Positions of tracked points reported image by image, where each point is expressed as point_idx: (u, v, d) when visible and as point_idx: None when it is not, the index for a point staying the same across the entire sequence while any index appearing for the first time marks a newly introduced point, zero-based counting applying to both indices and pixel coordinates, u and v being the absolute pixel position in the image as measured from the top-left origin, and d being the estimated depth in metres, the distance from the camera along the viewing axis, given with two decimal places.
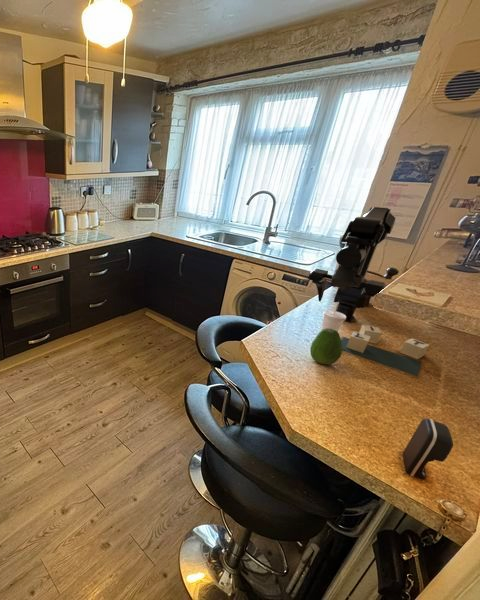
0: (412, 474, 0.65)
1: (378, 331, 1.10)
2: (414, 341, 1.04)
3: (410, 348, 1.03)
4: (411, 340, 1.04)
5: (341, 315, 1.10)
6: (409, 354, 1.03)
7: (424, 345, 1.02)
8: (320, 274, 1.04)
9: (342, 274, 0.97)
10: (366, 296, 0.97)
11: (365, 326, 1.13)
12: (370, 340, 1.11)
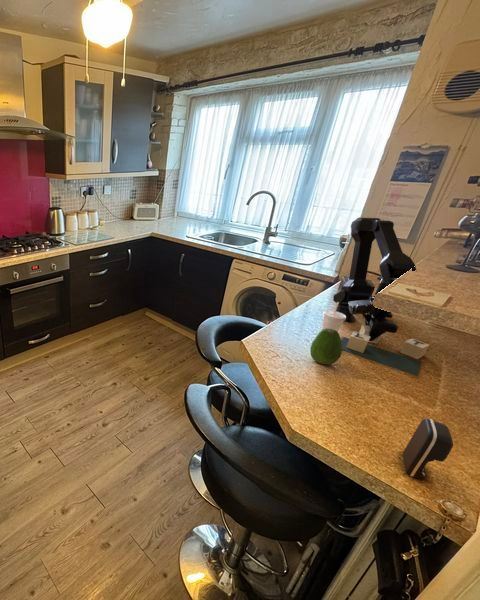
0: (412, 474, 0.65)
1: None
2: (414, 341, 1.04)
3: (410, 348, 1.03)
4: (411, 340, 1.04)
5: (341, 315, 1.10)
6: (409, 354, 1.03)
7: (424, 345, 1.02)
8: None
9: (359, 302, 1.11)
10: None
11: (365, 326, 1.13)
12: None
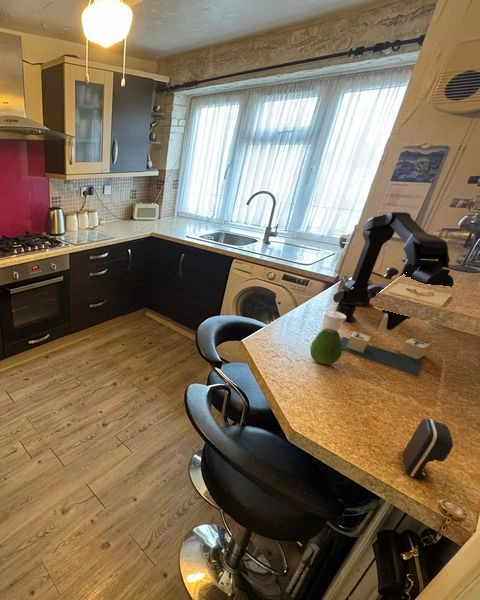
0: (412, 474, 0.65)
1: None
2: (414, 341, 1.04)
3: (410, 348, 1.03)
4: (411, 340, 1.04)
5: (341, 315, 1.10)
6: (409, 354, 1.03)
7: (424, 345, 1.02)
8: None
9: (381, 285, 1.00)
10: None
11: None
12: None
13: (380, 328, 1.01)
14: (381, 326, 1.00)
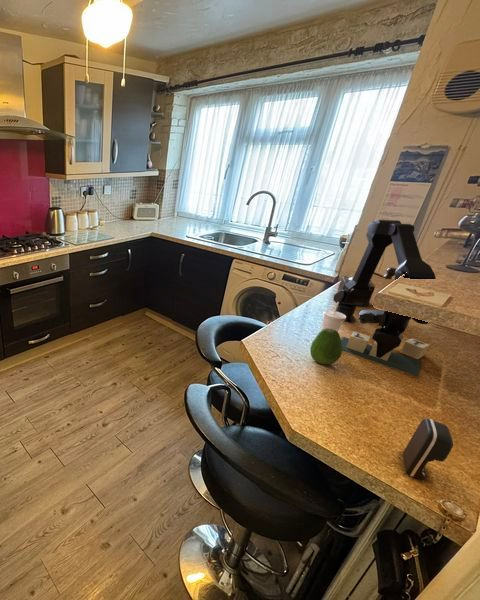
0: (412, 474, 0.65)
1: None
2: (414, 341, 1.04)
3: (410, 348, 1.03)
4: (411, 340, 1.04)
5: (341, 315, 1.10)
6: (409, 354, 1.03)
7: (424, 345, 1.02)
8: None
9: (372, 311, 1.02)
10: None
11: None
12: None
13: (371, 354, 1.04)
14: (371, 352, 1.03)
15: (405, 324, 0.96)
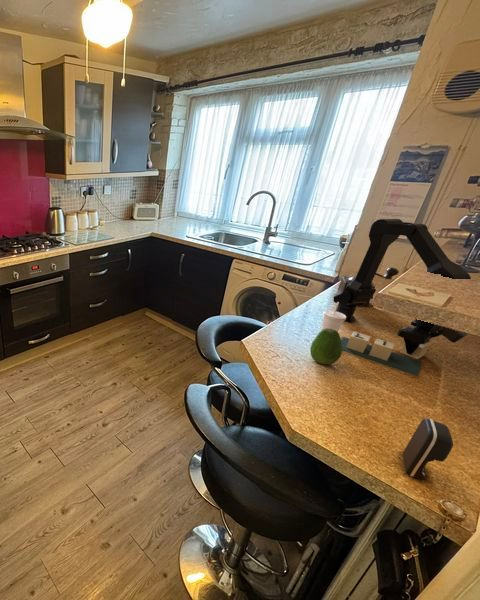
0: (412, 474, 0.65)
1: (390, 346, 1.00)
2: None
3: None
4: None
5: (341, 315, 1.10)
6: (409, 354, 1.03)
7: (424, 345, 1.02)
8: (427, 334, 0.96)
9: None
10: None
11: (378, 340, 1.04)
12: (379, 355, 1.02)
13: (371, 354, 1.04)
14: (371, 352, 1.03)
15: None
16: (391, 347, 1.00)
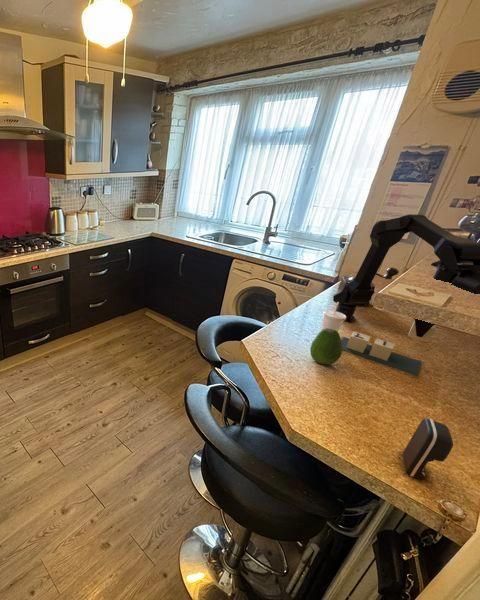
0: (412, 474, 0.65)
1: (390, 346, 1.00)
2: None
3: None
4: None
5: (341, 315, 1.10)
6: None
7: (433, 325, 0.94)
8: None
9: None
10: None
11: (378, 340, 1.04)
12: (379, 355, 1.02)
13: (371, 354, 1.04)
14: (371, 352, 1.03)
15: None
16: (391, 347, 1.00)
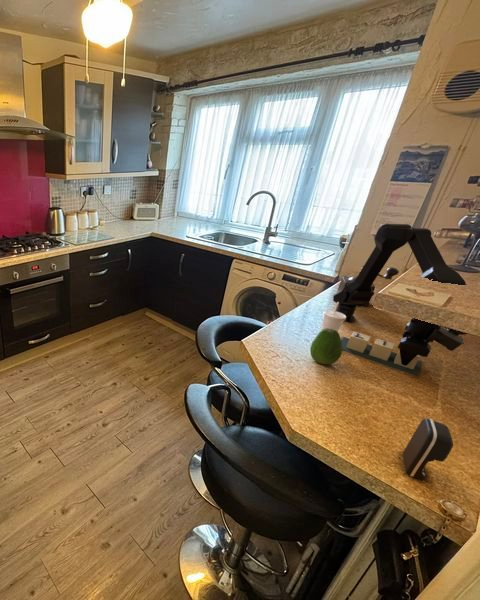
0: (412, 474, 0.65)
1: (390, 346, 1.00)
2: None
3: None
4: None
5: (341, 315, 1.10)
6: None
7: None
8: (428, 345, 0.90)
9: (450, 335, 0.90)
10: None
11: (378, 340, 1.04)
12: (379, 355, 1.02)
13: (371, 354, 1.04)
14: (371, 352, 1.03)
15: None
16: (391, 347, 1.00)
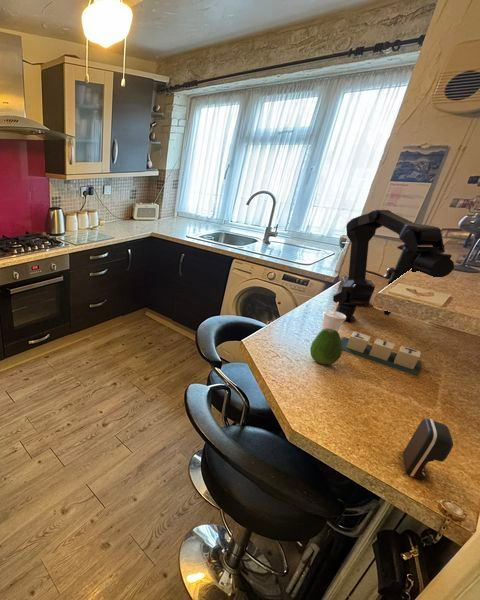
0: (412, 474, 0.65)
1: (390, 346, 1.00)
2: (406, 349, 0.99)
3: (405, 358, 0.98)
4: (403, 348, 0.99)
5: (341, 315, 1.10)
6: (404, 363, 0.98)
7: (417, 353, 0.97)
8: None
9: None
10: None
11: (378, 340, 1.04)
12: (379, 355, 1.02)
13: (371, 354, 1.04)
14: (371, 352, 1.03)
15: None
16: (391, 347, 1.00)
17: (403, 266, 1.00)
